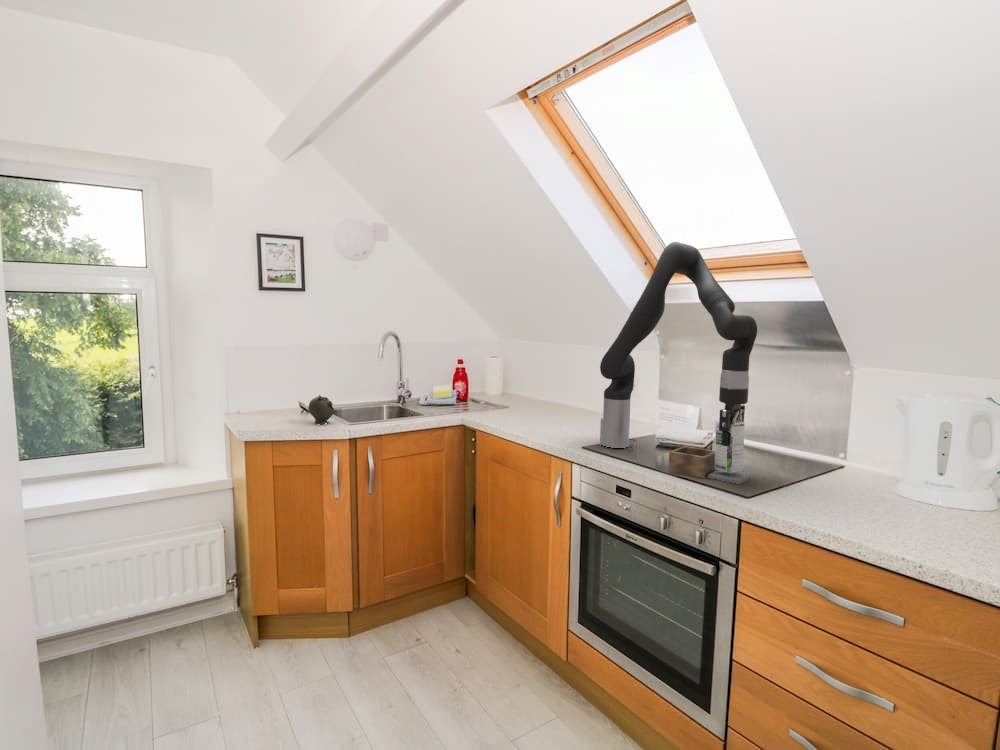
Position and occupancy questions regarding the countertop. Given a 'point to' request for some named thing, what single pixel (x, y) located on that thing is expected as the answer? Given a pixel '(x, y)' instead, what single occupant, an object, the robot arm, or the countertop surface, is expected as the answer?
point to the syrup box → (730, 449)
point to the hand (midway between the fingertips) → (730, 443)
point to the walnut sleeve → (692, 461)
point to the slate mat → (729, 476)
